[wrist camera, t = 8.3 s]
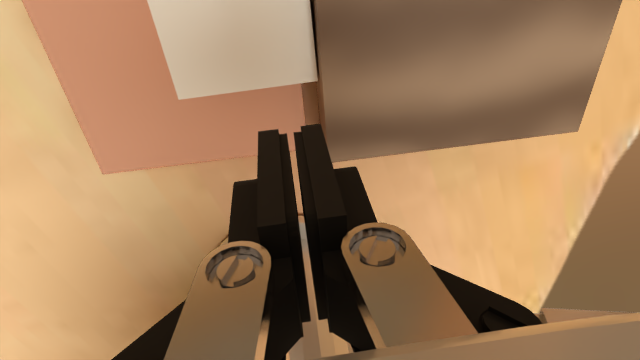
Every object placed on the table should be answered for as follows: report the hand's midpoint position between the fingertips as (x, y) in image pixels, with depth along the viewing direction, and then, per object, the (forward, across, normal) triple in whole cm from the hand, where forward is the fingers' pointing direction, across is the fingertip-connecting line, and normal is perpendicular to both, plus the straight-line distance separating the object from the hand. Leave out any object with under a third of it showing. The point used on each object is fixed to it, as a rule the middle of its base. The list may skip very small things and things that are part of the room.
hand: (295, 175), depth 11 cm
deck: (+15, -10, -1) cm, 19 cm away
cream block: (+15, +2, -2) cm, 15 cm away
